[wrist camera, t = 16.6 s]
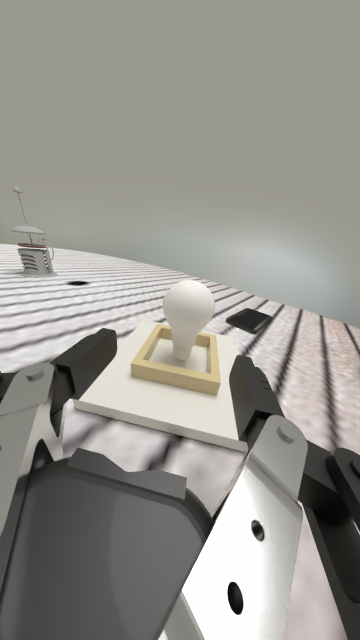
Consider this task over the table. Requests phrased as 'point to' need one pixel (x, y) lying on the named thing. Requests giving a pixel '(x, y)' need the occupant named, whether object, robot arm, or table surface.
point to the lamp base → (169, 386)
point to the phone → (249, 320)
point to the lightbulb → (187, 314)
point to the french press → (34, 252)
